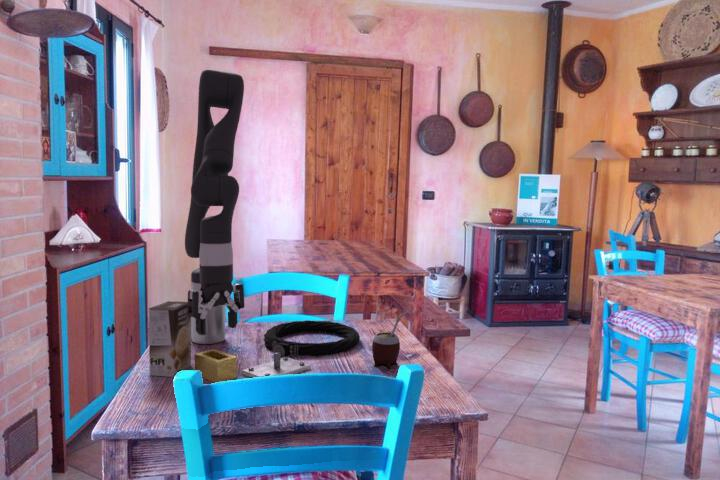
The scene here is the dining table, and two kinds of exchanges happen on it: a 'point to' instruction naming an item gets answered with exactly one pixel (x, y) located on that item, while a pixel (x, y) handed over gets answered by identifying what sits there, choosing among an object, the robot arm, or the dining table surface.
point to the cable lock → (311, 348)
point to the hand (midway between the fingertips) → (217, 330)
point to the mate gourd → (386, 348)
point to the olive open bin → (216, 365)
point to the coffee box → (169, 338)
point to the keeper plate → (272, 371)
